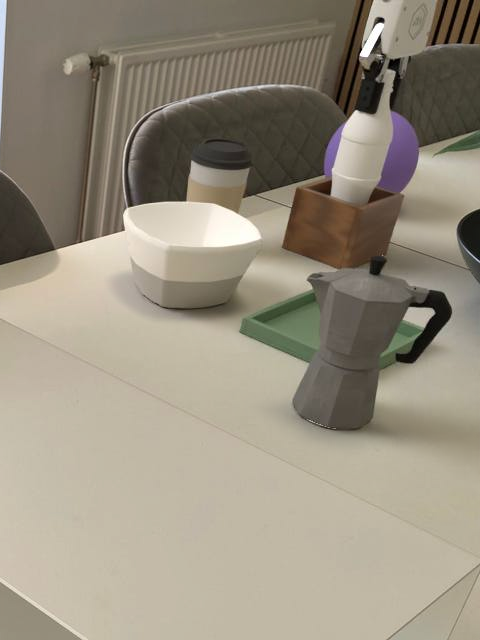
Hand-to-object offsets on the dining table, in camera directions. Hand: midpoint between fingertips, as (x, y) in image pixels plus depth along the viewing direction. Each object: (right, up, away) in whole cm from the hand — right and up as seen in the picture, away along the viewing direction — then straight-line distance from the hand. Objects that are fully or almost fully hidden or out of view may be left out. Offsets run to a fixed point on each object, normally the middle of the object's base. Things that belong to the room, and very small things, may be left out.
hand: (374, 108), depth 142 cm
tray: (-9, -36, -11) cm, 39 cm away
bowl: (-28, -27, -2) cm, 39 cm away
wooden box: (-1, -15, +13) cm, 20 cm away
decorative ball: (+9, 0, +31) cm, 32 cm away
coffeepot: (-14, -50, -26) cm, 58 cm away
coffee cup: (-22, -15, +12) cm, 29 cm away
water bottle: (-1, -15, +14) cm, 20 cm away
